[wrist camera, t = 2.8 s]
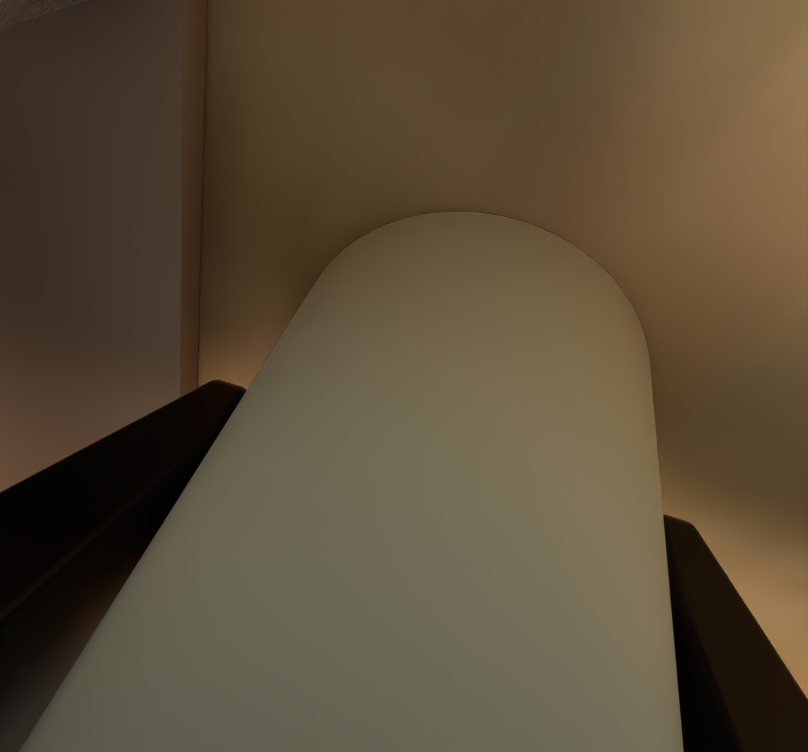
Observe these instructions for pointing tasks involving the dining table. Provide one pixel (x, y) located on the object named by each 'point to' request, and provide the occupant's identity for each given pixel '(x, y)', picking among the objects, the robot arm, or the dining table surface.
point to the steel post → (29, 9)
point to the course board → (97, 222)
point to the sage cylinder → (410, 526)
